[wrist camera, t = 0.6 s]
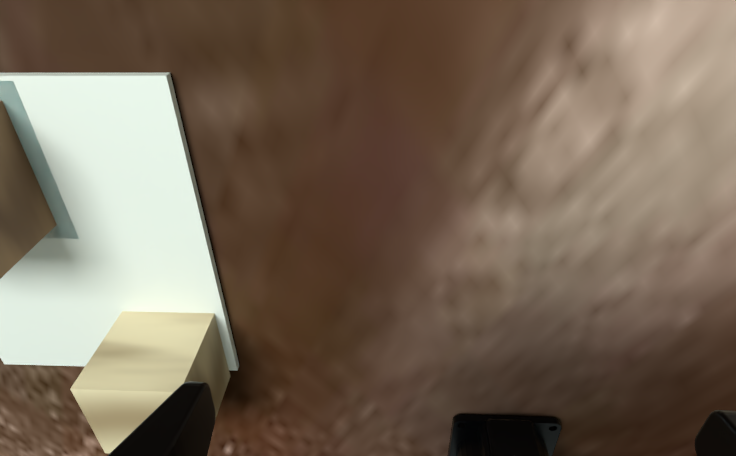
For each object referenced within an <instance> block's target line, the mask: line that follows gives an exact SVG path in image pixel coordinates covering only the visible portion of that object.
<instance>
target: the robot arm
mask: <svg viewBox="0 0 736 456" xmlns="http://www.w3.org/2000/svg"><path fill="white" fill-rule="evenodd" d="M215 416H216V412H215V407H214V402H213V398H212V394H211V390H210V386H209V385H208V384H207V383H206V382H193V381H188V382H185V383H183V384H182V385H181V386H180V387H179V388H178V389H177V390H175V391H174V392H173V393H172V394H171V395H170V396H169V397H168V398H167V399H166V400H165V401H164V402H163V403H162V404H161V405H160V406H159V407H158V408H157V409H156V410H155V411H154V412H152V413H151V414H150V415H149V416H148V417H147V418H146V419H145V420H144V421H143V422H142V423H141V424H140V425H139V426H138V427H137V428H136V429H135V430H134V431H133V432H132V433H131V434H130V435H128V436H127V437H126V438H125V439H124V440H123V441H122V442H121V443H120V444H119V445H118V446H117V447H116V448H115V449H114V450H113V451H112V452H111V453H110V454H109V455H108V456H207V454H208V449H209V445H210V441H211V437H212V432H213V428H214V424H215ZM560 431H561V424H560V421H559V420H558V419H556V418H546V417H514V416H482V415H457V416H455V417H454V418H453V421H452V429H451V436H450V443H449V451H448V456H552V455H553V452H554V449H555V446H556V443H557V440H558V437H559V434H560ZM695 450H696V454H697V456H736V411H728V410H715V411H713V412H711V413H710V415H709V416H708V418H707V419H706V421H705V423H704V424H703V426H702V427H701V429H700V431H699V432H698V434H697V436H696V438H695Z"/></svg>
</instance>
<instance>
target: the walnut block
mask: <svg viewBox="0 0 736 456" xmlns="http://www.w3.org/2000/svg"><path fill="white" fill-rule="evenodd" d="M56 225H57V224H56V221H55V219H54V217H53V215H52V212H51V210H50V208H49V206H48V203H47V201H46V199H45V196H44V194H43V192H42V190H41V187H40V185H39V183H38V181H37V178H36V176H35V174H34V171H33V169H32V167H31V165H30V162H29V160H28V158H27V156H26V153H25V151H24V149H23V146H22V144H21V142H20V140H19V137H18V135H17V133H16V131H15V128H14V126H13V124H12V121H11V119H10V117H9V115H8V112H7V110H6V108H5V106H4V103H3V101H0V279H1V278H2V277H3V276H4V275H5V274H6V273H7V272H8V271H9V270H10V269H11V268H12V267H13V266H14V265H15V264H16V263H17V262H18V261H19V260H21V259H22V258H23V257H24V256H25V255H26V254H27V253H28V252H29V251H30V250H31V249H32V248H33V247H34V246H35V245H36V244H37V243H38V242H39V241H40V240H41V239H43V238H44V237H45V236H46V235H47V234H48V233H49V232H50V231H51V230H52V229H53V228H54V227H55V226H56Z"/></svg>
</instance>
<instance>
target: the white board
mask: <svg viewBox="0 0 736 456" xmlns="http://www.w3.org/2000/svg"><path fill="white" fill-rule="evenodd" d="M0 101H3V103H4V106H5V108H6V110H7V112H8V115H9V117H10V119H11V121H12V124H13V126H14V128H15V131H16V133H17V135H18V137H19V140H20V142H21V144H22V146H23V149H24V151H25V153H26V156H27V158H28V160H29V162H30V165H31V167H32V169H33V171H34V174H35V176H36V178H37V181H38V183H39V185H40V187H41V190H42V192H43V194H44V196H45V199H46V201H47V203H48V206H49V208H50V210H51V212H52V215H53V217H54V219H55V221H56V224H57V225H56V226H55V227H54V228H53V229H52V230H51V231H50V232H49V233H48V234H47V235H46V236H45V237H44V238H43V239H41V240H40V241H39V242H38V243H37V244H36V245H35V246H34V247H33V248H32V249H31V250H30V251H29V252H28V253H27V254H26V255H25V256H24V257H23V258H22V259H21V260H19V261H18V262H17V263H16V264H15V265H14V266H13V267H12V268H11V269H10V270H9V271H8V272H7V273H6V274H5V275H4V276H3V277H2V278H1V279H0V358H1V360H2V361H3V363H4V364H19V365H55V366H86V365H87V363H88V362H89V360H90V359H91V357H92V356H93V354H94V353H95V351H96V350H97V348H98V347H99V345H100V344H101V342H102V341H103V339H104V338H105V336H106V335H107V333H108V332H109V330H110V329H111V327H112V326H113V324H114V323H115V321H116V320H117V318H118V317H119V315H120V314H121V312H122V311H133V312H177V313H214V314H215V318H216V321H217V325H218V329H219V333H220V337H221V341H222V345H223V349H224V353H225V357H226V360H227V364H228V368H229V370H235V371H238V368H239V361H238V357H237V353H236V349H235V345H234V340H233V336H232V332H231V328H230V323H229V319H228V315H227V311H226V307H225V302H224V298H223V294H222V290H221V285H220V281H219V277H218V273H217V268H216V264H215V260H214V256H213V252H212V247H211V243H210V239H209V235H208V230H207V226H206V222H205V218H204V214H203V209H202V205H201V201H200V197H199V192H198V188H197V184H196V180H195V176H194V171H193V167H192V163H191V159H190V154H189V150H188V146H187V142H186V138H185V133H184V129H183V125H182V121H181V116H180V112H179V108H178V104H177V100H176V95H175V91H174V87H173V83H172V78H171V74H170V73H0Z"/></svg>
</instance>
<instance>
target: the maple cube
mask: <svg viewBox="0 0 736 456" xmlns="http://www.w3.org/2000/svg"><path fill="white" fill-rule="evenodd" d="M229 379H230V372H229V368H228V364H227V360H226V357H225V353H224V349H223V345H222V341H221V337H220V333H219V329H218V325H217V321H216V318H215V314H214V313H177V312H133V311H122V312H121V314H120V315H119V317H118V318H117V320H116V321H115V323H114V324H113V326H112V327H111V329H110V330H109V332H108V333H107V335H106V336H105V338H104V339H103V341H102V342H101V344H100V345H99V347H98V348H97V350H96V351H95V353H94V354H93V356H92V357H91V359H90V360H89V362H88V363H87V365H86V366H85V368H84V369H83V371H82V372H81V374H80V375H79V377H78V378H77V380H76V381H75V383H74V384H73V386H72V387H71V391H72V393H73V395H74V397H75V399H76V400H77V402H78V404H79V406H80V408H81V410H82V411H83V413H84V415H85V417H86V419H87V421H88V422H89V424H90V426H91V428H92V430H93V432H94V433H95V435H96V437H97V439H98V441H99V443H100V445H101V446H102V448H103V450H104V452H105V453H111V452H112V451H113V450H114V449H115V448H116V447H117V446H118V445H119V444H120V443H121V442H122V441H123V440H124V439H125V438H126V437H127V436H128V435H130V434H131V433H132V432H133V431H134V430H135V429H136V428H137V427H138V426H139V425H140V424H141V423H142V422H143V421H144V420H145V419H146V418H147V417H148V416H149V415H150V414H151V413H152V412H154V411H155V410H156V409H157V408H158V407H159V406H160V405H161V404H162V403H163V402H164V401H165V400H166V399H167V398H168V397H169V396H170V395H171V394H172V393H173V392H174V391H175V390H177V389H178V388H179V387H180V386H181V385H182V384H183V383H185V382H188V381H193V382H206V383H207V384H208V385H209V386H210V390H211V394H212V398H213V402H214V407H215V412H216V416H217V414H218V411H219V408H220V405H221V402H222V399H223V396H224V393H225V391H226V388H227V385H228V382H229ZM216 416H215V419H216Z"/></svg>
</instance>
